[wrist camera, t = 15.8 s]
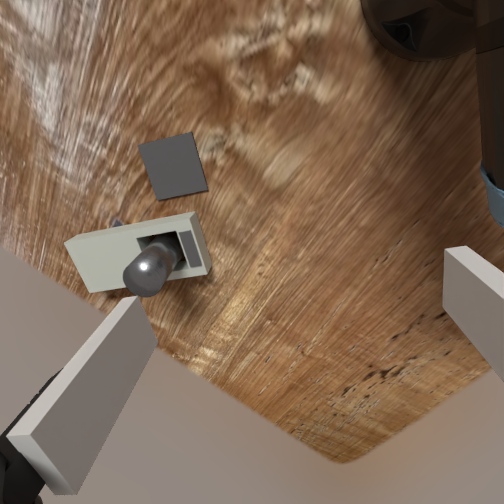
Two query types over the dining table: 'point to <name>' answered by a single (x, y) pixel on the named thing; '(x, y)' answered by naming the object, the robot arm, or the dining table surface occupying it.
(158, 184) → the mat
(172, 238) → the barrel peg
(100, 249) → the slotted holder block
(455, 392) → the dining table surface
